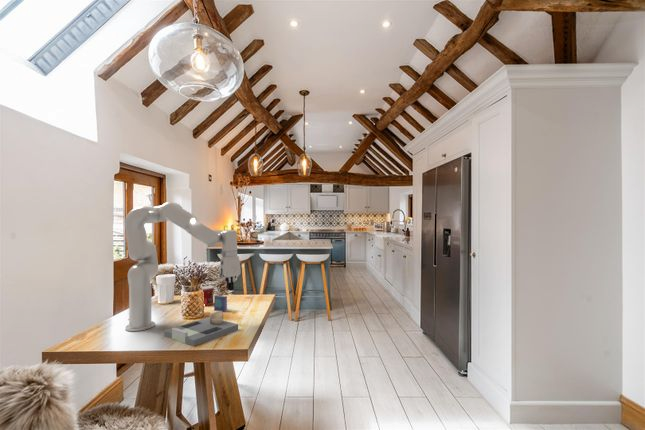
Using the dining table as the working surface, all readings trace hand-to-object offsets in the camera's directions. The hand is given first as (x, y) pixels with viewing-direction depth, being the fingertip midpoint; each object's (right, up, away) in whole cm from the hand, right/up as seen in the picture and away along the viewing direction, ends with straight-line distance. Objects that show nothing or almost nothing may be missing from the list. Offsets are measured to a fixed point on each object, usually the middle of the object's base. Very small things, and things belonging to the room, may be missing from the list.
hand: (230, 289), depth 161 cm
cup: (-54, -18, +41) cm, 70 cm away
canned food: (-25, -18, +35) cm, 47 cm away
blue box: (-12, -18, +22) cm, 31 cm away
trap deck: (-9, -17, -14) cm, 24 cm away
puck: (-5, -15, -7) cm, 17 cm away
